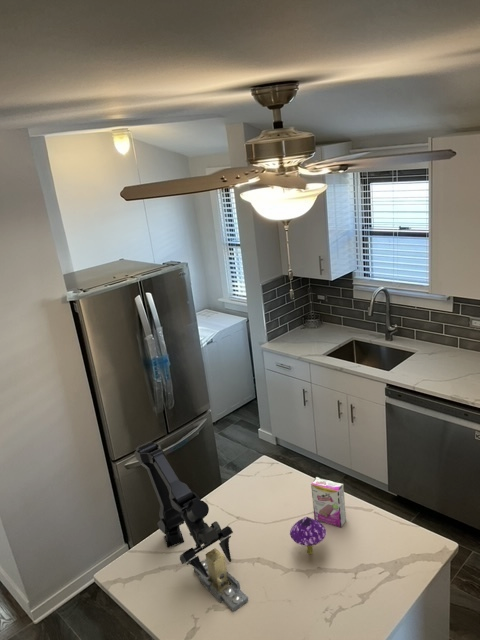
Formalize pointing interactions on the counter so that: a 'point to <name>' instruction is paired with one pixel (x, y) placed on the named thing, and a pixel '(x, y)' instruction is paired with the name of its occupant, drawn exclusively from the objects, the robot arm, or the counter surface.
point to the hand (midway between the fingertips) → (219, 569)
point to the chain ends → (229, 595)
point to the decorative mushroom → (308, 533)
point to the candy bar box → (328, 502)
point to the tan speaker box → (217, 569)
